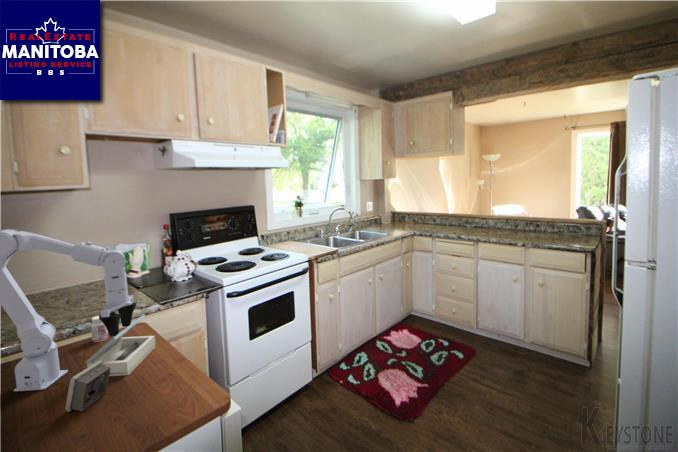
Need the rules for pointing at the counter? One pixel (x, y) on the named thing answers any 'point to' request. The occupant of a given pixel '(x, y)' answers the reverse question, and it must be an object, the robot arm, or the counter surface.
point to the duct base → (120, 350)
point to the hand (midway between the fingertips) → (120, 330)
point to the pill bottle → (98, 330)
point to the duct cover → (114, 339)
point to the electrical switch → (87, 386)
